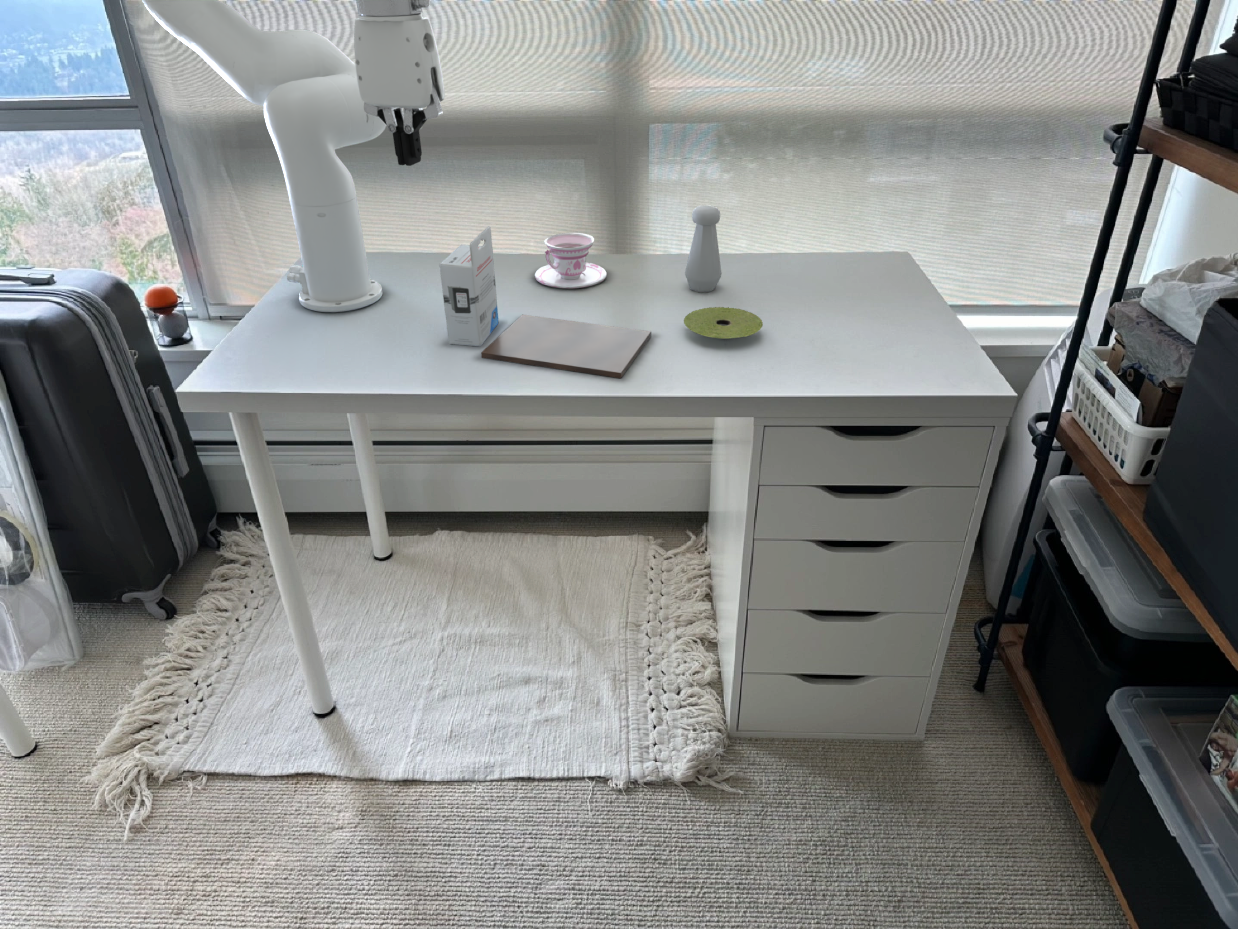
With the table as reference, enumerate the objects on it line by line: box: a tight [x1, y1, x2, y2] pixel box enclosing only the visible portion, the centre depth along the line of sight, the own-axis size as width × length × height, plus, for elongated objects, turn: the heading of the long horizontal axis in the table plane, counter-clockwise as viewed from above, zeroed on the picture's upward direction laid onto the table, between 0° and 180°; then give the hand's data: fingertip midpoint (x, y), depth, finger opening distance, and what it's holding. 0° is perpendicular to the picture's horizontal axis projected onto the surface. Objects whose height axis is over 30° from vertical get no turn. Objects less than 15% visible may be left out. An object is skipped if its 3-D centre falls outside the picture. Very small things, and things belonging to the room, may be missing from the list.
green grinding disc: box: [683, 306, 764, 340], centre depth 123 cm, size 11×11×2 cm
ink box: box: [438, 225, 500, 347], centre depth 119 cm, size 9×5×15 cm, turn 168°
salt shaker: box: [684, 204, 723, 293], centre depth 135 cm, size 6×6×13 cm
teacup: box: [534, 232, 607, 289], centre depth 141 cm, size 12×12×6 cm
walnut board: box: [480, 314, 652, 379], centre depth 119 cm, size 20×14×1 cm
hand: (409, 162), depth 113 cm, fingers closed
